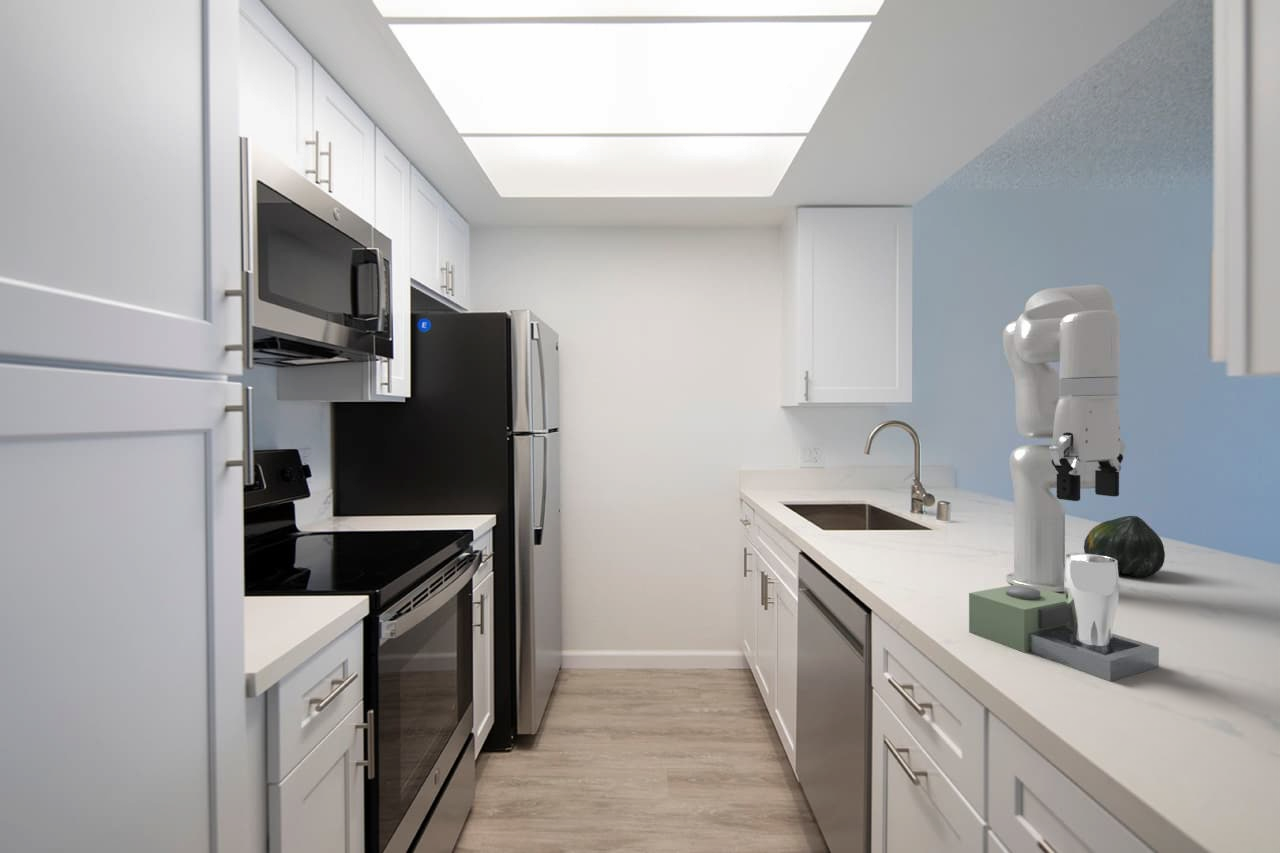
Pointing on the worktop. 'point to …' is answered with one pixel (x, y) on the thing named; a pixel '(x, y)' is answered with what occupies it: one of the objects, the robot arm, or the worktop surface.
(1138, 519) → the squash
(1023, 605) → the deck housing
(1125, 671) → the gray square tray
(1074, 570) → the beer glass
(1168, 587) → the worktop surface
